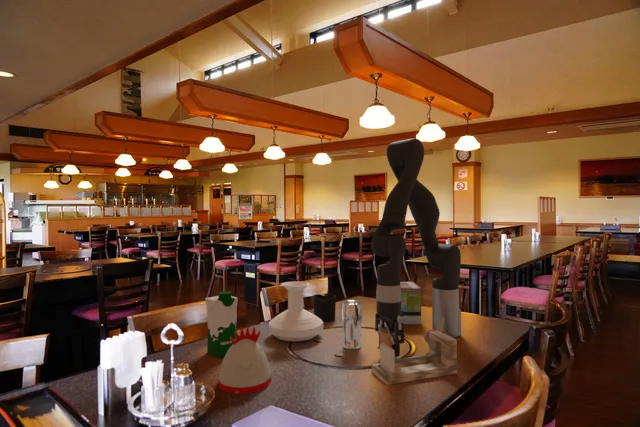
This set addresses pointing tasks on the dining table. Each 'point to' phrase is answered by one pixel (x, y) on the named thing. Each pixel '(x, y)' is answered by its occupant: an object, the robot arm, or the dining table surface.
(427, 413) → the dining table surface
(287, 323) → the white vase
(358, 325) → the beer glass
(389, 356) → the pusher
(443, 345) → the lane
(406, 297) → the tea box
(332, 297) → the pen holder
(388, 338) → the jar
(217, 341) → the milk carton
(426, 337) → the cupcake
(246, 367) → the kitchen timer
